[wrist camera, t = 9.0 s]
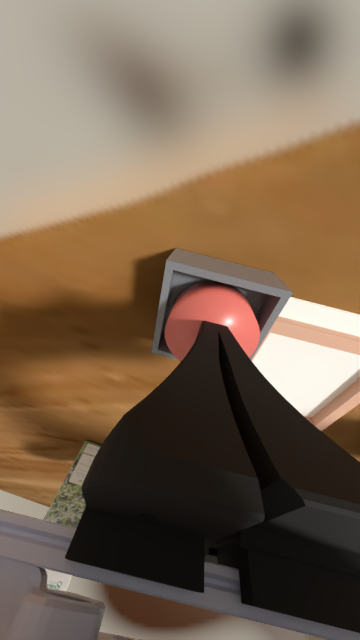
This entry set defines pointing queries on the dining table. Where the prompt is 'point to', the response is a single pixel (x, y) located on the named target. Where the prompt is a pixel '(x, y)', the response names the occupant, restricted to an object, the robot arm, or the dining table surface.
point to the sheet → (310, 358)
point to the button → (210, 316)
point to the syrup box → (70, 505)
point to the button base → (195, 268)
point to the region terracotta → (331, 339)
